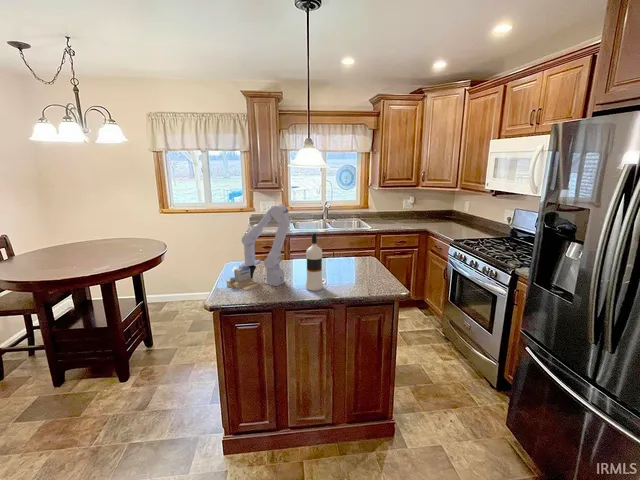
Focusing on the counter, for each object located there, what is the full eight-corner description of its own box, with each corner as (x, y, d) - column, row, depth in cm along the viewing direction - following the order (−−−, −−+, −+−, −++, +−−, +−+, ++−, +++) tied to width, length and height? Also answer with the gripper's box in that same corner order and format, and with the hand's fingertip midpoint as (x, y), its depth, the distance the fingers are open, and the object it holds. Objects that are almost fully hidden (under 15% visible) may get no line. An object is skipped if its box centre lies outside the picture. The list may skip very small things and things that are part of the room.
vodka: (313, 292, 165) (313, 236, 159) (302, 288, 172) (301, 233, 165) (326, 288, 172) (326, 233, 165) (315, 283, 178) (314, 230, 171)
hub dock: (259, 285, 176) (259, 276, 175) (244, 291, 167) (243, 282, 166) (241, 280, 184) (241, 271, 183) (226, 286, 175) (225, 277, 174)
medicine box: (240, 286, 175) (239, 270, 173) (234, 284, 178) (233, 269, 176) (251, 281, 181) (250, 267, 179) (245, 280, 184) (244, 265, 182)
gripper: (254, 251, 189) (255, 273, 192) (234, 257, 177) (236, 280, 181) (262, 253, 185) (263, 275, 188) (243, 259, 174) (244, 282, 177)
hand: (250, 278), depth 184 cm, fingers closed
